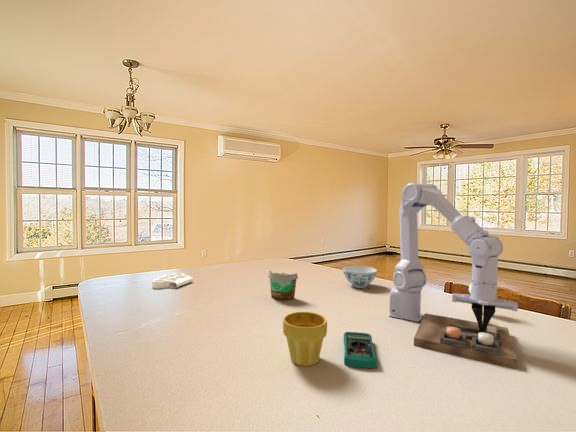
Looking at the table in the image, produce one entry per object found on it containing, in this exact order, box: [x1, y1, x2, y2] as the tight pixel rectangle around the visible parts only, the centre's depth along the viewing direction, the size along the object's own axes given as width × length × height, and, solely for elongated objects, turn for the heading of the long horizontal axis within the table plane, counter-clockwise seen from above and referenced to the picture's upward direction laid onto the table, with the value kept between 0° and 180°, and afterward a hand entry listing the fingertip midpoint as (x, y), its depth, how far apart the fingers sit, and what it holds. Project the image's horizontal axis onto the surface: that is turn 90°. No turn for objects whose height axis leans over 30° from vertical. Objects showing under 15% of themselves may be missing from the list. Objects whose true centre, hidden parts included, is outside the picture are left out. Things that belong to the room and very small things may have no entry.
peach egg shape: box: [446, 326, 461, 338], centre depth 80 cm, size 3×3×2 cm
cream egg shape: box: [478, 332, 494, 345], centre depth 76 cm, size 3×3×2 cm
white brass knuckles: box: [151, 272, 194, 290], centre depth 141 cm, size 3×18×15 cm
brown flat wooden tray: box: [413, 312, 518, 369], centre depth 86 cm, size 22×22×4 cm
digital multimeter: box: [343, 331, 378, 369], centre depth 77 cm, size 7×15×3 cm, turn 170°
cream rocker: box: [476, 316, 500, 331], centre depth 89 cm, size 5×4×1 cm
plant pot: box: [282, 311, 328, 367], centre depth 74 cm, size 10×10×10 cm
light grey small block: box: [486, 326, 497, 340], centre depth 82 cm, size 2×4×2 cm, turn 149°
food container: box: [267, 270, 299, 301], centre depth 121 cm, size 12×6×10 cm, turn 68°
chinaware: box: [342, 265, 378, 289], centre depth 142 cm, size 15×15×8 cm
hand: (482, 332), depth 83 cm, fingers closed
